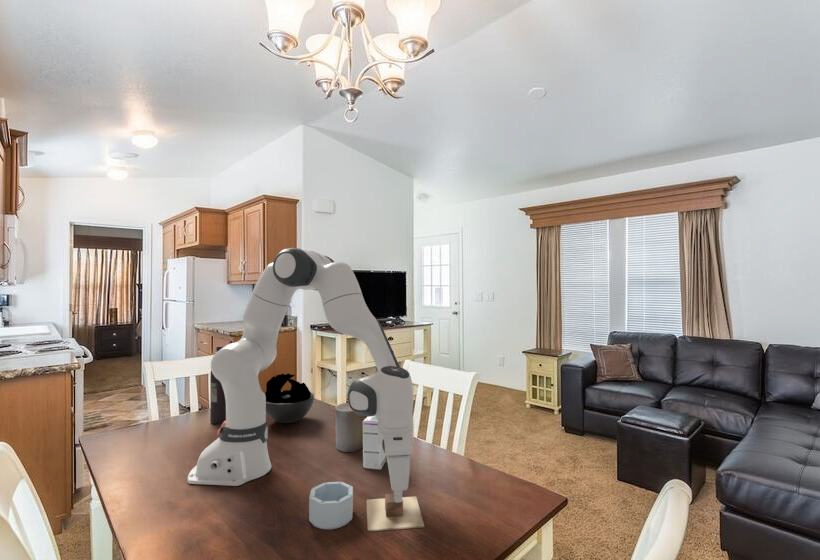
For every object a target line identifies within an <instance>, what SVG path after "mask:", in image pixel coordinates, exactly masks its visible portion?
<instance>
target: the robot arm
mask: <svg viewBox="0 0 820 560" xmlns="http://www.w3.org/2000/svg"><path fill="white" fill-rule="evenodd" d="M299 289H300V290H304V291H305V290H307V291H308V290H309V291H310V290H311V291H317V292H318V293H319V295H320V298H321V303H322V307H323V311H324V314H325V315H324V316H325V317H326V320H327V323H328V324H329V325H330V327H331V328H332V329H334V331H336V332H338V333H341V334H342V335H346V336H350V337H353V338H356V339H358V340H359V341H361V342H362V343H364V344H365V345H366V347H367V348H368V350H369V352H370V355H371V357H372V359H373V361H374V364H375V366H376V368H377V371H376V372H374V373H372V374H370V375H367V376H364V377H360V378H357V379H355V380H354V381H352V382H351V383H350V385H349V388H348V390H347V401H348V402H347V403H349V406H350V408H351V409H352V411H353V412H354V413H356V414H357V415H359V416H364V417H366V418H367V417H370V416H376V417H377V419H378V443H379V444H380V445H381V447H382V448H383V451H384V453H385V456H386V462H387V467H388V474H389V482H390V487H391V491H393V493H394V501H395V502H396V503H398V502H402V497H403V492H404V491H407V490H408V488H409V481H410V468H411V455H412V454H413V453H414V447H413V443H414V441H415V437H414V436H415V435H414V433H415V432H414V417H413V407H414V388H413V387H414V386H413V380H412V377H411V374H410V372H409V371H408V370H407V369H406V368H404V367H401V366H400V364H399V362H398V360H397V358H396V355H395V354H394V351H393V348H392V346H391V344H390V341H389V340H388V336H387V335H386V332H385V331H384V327H382V324H381V322H380V321H379V320H378V318H376V317H375V316H374V315H373V314H372V312H371V311H370V309H369V307H368V306H367V304H366V301H365V298H364V296H363V292H362V289H361V287H360V283H359V281H358V279H357V277H356V275H355V273H354V271H353V269H352V268H351V266H350V265H349V264H348V263H347V262H346V263H345V262H343V261H342V262H341V261H334V260H333V259H332V258H331V257H329V256H327V255H323V254H321V253H319V252H316V251H313V250H304V249H302V248H299V247H297V248H296V247H290V248H289V247H288V248H284V249H282V250H281V251H279V252H278V253H277V254H276V256H275V257H274V259H273V262H271V263H268V264H267V265H266V266H265V268H264V270H263V272H261V274H260V276H259V278H258V279H257V281H256V284H255V286H254V287H253V289H252V292H251V295H250V297H249V300H248V303H247V304H246V307H245V309H244V311H243V315H242V319H243V322H244V324H243V326H244V327H243V333H242V335H241V338H240V339H239V340H238V341H235V342H231V343H228V344H226V345H223V346H224V347H223V348H222V349H220V350H219V351H218V352H217V351H216V352H215V353H214V355H213V356H212V358H211V361H210V369H211V370H212V373H213V375H214V376H215V377H216V378H217V379H218V380H219V381H220V382H221V384H222V387H223V390H224V394H225V400H226V421H224V422H223V423H222V424H220V425H221V426H220V427H219V428H218V430H217V436H219V437H217V439H215V440H214V441H213V442H211V443H210V444H209V445H208V446H207V447H205V448H204V450H202V452H201V453H200V455H199V456H198V460H197V463H196V465H195V466H193V468H192V469H191V470H190V472H189V473H188V475H187V484H193V485H208V486H212V485H213V486H232V487H236V486H241V485H244V484H245V483H247V482H249V481H252V480H256V479H259V478H261V477H264V476H265V475H266V474H267V473H269V472H270V471H271V469H272V463H271V461H270V460H271V459H270V456H269V451H268V442H267V440H268V437H269V435H268V434H269V426H268V420H267V414H266V395H265V393H266V392H264V391H263V390H262V388H261V385H260V381H259V374H260V373H261V372H263V371H265V370H266V369H268V368H269V367H270V366H271V365H272V364H273V363H274V361H275V360H276V358H277V354H278V350H277V349H278V348H277V344H278V343H277V342H278V338H279V333H280V329H281V326H282V323H283V322H284V319H285V316H286V313H287V311H288V309H289V307H290V304H291V302H292V300H293V299H292V298H293V297H294V294H295V293H296V292H297V291H298V290H299ZM211 370H210V371H211Z"/></svg>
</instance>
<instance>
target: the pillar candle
mask: <svg viewBox="0 0 820 560" xmlns="http://www.w3.org/2000/svg"><path fill="white" fill-rule="evenodd" d="M334 408H335V411H334V412H335V413H334V414H335V449H337V450H338V451H340V452H343V453H344V452H345V453H351V452H357V451H359V450H363V421H364V420H365V418H364V417H365V416H359V415H357V414H356V413H354V412H353V411H352V409H351V408H350V406H349V403H348V402H344V403H340V404H337V405H336V406H335V407H334Z"/></svg>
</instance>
